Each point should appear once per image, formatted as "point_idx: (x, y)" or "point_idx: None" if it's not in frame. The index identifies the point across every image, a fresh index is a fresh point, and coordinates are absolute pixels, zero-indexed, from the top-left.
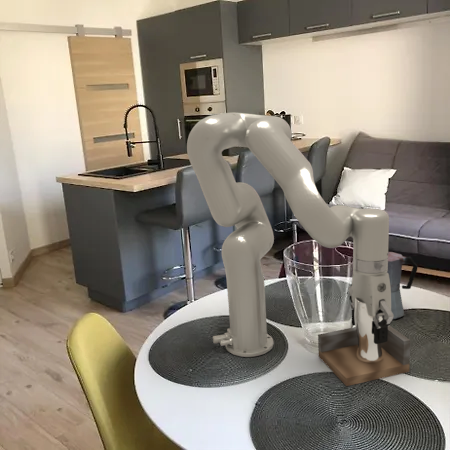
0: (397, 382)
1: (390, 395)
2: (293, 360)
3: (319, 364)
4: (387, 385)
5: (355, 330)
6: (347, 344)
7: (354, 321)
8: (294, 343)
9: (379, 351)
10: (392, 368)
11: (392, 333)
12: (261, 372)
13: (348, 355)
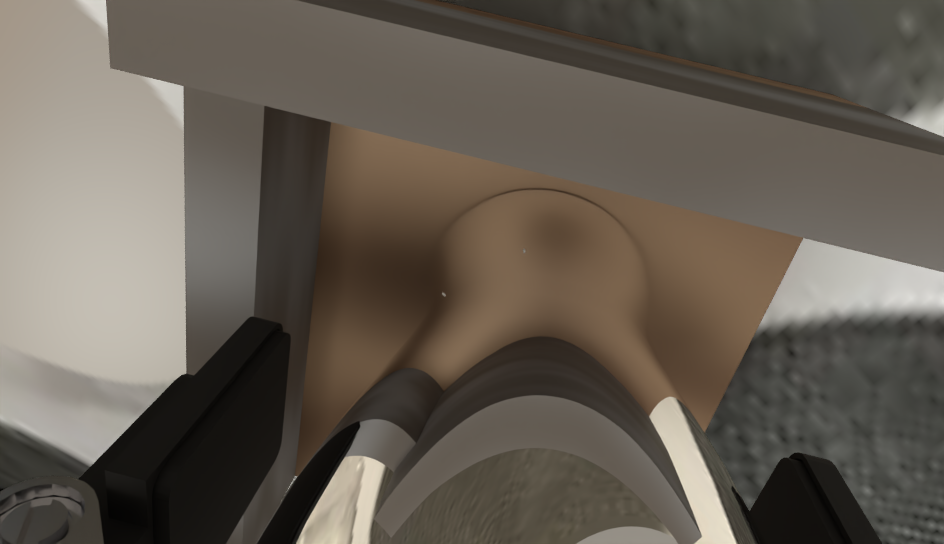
0: (843, 284)
1: (892, 422)
2: None
3: None
4: (809, 358)
5: (254, 306)
6: (304, 315)
7: (256, 479)
8: (72, 424)
9: (645, 324)
10: (782, 274)
11: (706, 209)
12: None
13: None
